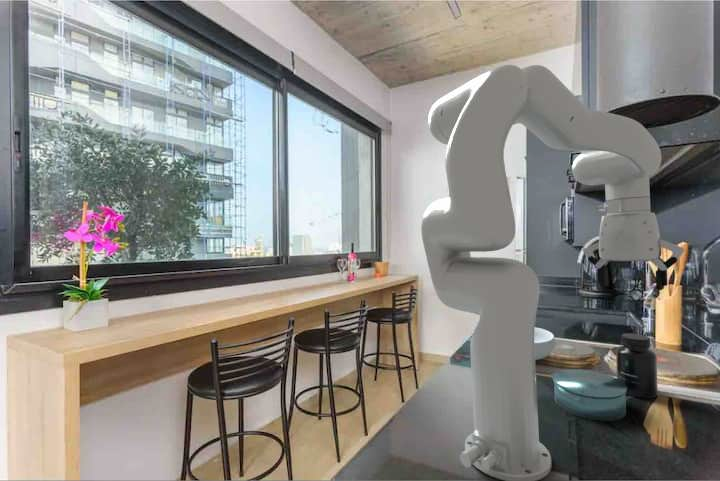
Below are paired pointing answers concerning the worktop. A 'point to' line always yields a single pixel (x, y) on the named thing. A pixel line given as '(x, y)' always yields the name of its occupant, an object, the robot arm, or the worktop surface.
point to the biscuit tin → (590, 394)
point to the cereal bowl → (543, 343)
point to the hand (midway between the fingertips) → (631, 287)
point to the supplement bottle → (637, 366)
